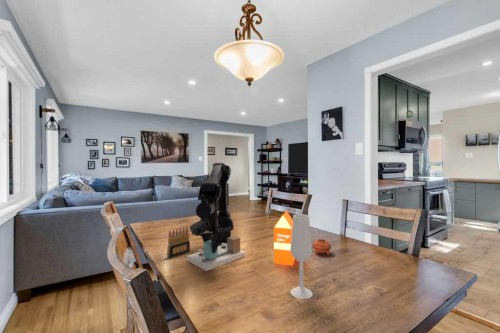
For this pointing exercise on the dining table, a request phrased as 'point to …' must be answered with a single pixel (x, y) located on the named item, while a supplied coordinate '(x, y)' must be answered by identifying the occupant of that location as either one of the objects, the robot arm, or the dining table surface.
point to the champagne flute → (301, 250)
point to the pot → (322, 246)
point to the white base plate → (219, 255)
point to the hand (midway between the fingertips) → (210, 251)
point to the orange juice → (283, 240)
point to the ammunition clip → (178, 243)
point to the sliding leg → (208, 250)
